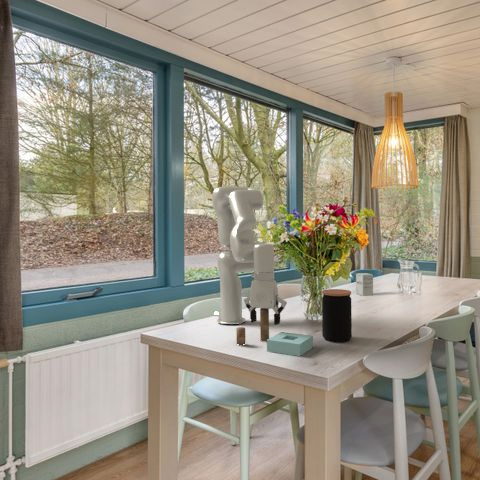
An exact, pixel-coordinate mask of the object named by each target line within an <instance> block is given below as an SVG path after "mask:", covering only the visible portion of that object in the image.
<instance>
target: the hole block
mask: <svg viewBox="0 0 480 480" xmlns="http://www.w3.org/2000/svg"><path fill="white" fill-rule="evenodd" d="M312 347H314V335H311V334H302V333H294V332H293V333H292V332H285V331H281V332H278V333H277V334H275V335H273V336H271V337H269V339H267V342H266V352H268V351H271V352H270V353H274V352H277V353H276V354H281V353H282V355H287V354H288V355H290V356H294V355H296V357H301V356H302V355H304V354H306V351H307V352H309V351H310V350H312ZM309 349H310V350H309ZM288 355H287V356H288ZM300 355H301V356H300Z"/></svg>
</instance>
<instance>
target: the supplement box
mask: <svg viewBox="0 0 480 480" xmlns="http://www.w3.org/2000/svg"><path fill="white" fill-rule="evenodd" d="M355 286H356V287H355V294H356V295H359V296H362V297H367V296H369V295H370V296H373V295H374V274H372V273H367V272H364V273H362V272H360V273H359V272H358V273H356V274H355Z"/></svg>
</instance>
